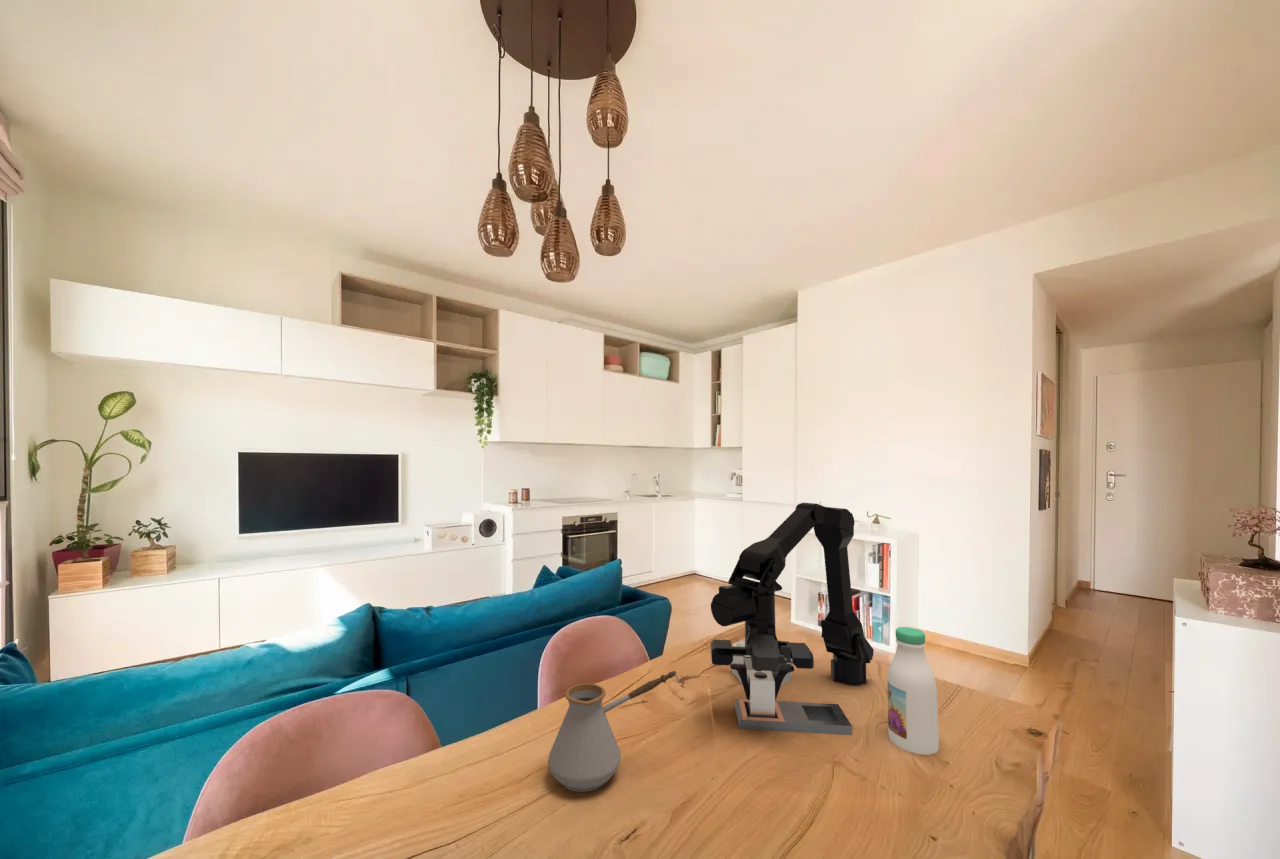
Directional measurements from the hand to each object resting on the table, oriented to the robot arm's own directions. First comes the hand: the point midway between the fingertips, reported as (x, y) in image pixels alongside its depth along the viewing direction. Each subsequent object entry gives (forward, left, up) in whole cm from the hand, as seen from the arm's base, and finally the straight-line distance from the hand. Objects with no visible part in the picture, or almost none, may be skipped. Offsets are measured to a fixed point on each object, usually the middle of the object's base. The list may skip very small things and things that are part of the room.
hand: (760, 699), depth 93 cm
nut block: (0, 0, -2) cm, 3 cm away
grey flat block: (-5, 0, -4) cm, 7 cm away
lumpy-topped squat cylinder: (-3, -19, -5) cm, 20 cm away
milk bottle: (-25, +5, -5) cm, 26 cm away
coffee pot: (+26, +17, -5) cm, 31 cm away
